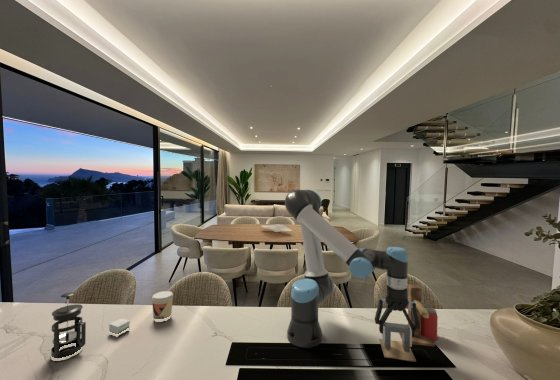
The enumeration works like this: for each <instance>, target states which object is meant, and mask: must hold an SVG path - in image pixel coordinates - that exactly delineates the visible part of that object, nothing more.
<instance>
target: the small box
mask: <svg viewBox="0 0 560 380" xmlns="http://www.w3.org/2000/svg"><path fill="white" fill-rule="evenodd" d="M130 323H131V322H130V320H129V319H125V318H122V317H121V318H119V319H117V320H115V321H113V322H111V323H109V324H108V327H109V328H108V329H109V330H108V332H109V331H110V332H112V333H115V334H119V333H121V332H122V331H124V330H126V329H127V328H129V329H130Z"/></svg>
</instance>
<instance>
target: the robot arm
mask: <svg viewBox="0 0 560 380" xmlns="http://www.w3.org/2000/svg"><path fill="white" fill-rule="evenodd" d="M321 206H322V198H321V196H320V194H319V193H317V192H316V191H315V190H311V189H294V190H292V191H290V192H288V193H287V195H286V196H285V199H284V207H285V209H286V211H287V212H288V213H289V215H290V216H291V217H292V218H293V219H294V220H295V221H297V223H300V229H301V231H300V232H301V237H302V246H303V251H304V259H305V265H306V266H305V267H306V270H305V272H304V273H303V274H304V275H303V276H304V278H302V279H301V278H300V279H298V280H296V281H294V282H293V284H291V285H292V286H291V291H290V295H291V296H290V300H291V309H290V310H291V312H290V313H291V314H290V321H289V325H288V328H287V330H286V338H287V341H288V342H289V343H291V344H292V345H293V346H295V347H297V348H303V349H305V348H306V349H310V348H314V347H317V346H318V345H320V344H321V343H322V342H323V331H322V328H321V326H320V322H319V307H320V306H321V305H323V303H324V302H326V301H327V300H328V299H330V297H331V296H332V295H333V292H334V288H335V287H334V286H335V285H334V281H333V279H332V277H330V275H329V271H328V270H327V269H326V268H325V263H324V257H323V250H322V243H323V244H324V245H325V246H327V247H328V248H329V249H330V250H331V251H332V252H334V254H336V256H338V258H340V260H342V261H343V262H344V263H345V264H346V265H347V266H348V267H349V272H350V273H351V275H352V276H353V277H355V278H356V279H358V280H363V279H366V278H368V277H370V275H371V276H372V274H373V272H374V270H376V269H377V270H384V271H386V297H385V298H382V297H378V298H377V300H378V301H377V302H378V305H377V308H376V312H375V315H374V322H375V324H376V325H378V331H379V333H380V334H381V339H382V341H383V343H385V325H384V323H385V322H387V320H388V318H389V316H390V315H391V313H392V312H393V311H394V312H395V311H397V312H398V311H399V312H402V313H403V315H404V317H405V319H406V321H407V324H408V323H409V325H410V326H409V328H410V348H411V347H413V346H412V345H413V344H412V337H414V336H415V330H416V329H420V325H419V321H418V317H417V313H416V303H415V302H414V301H408V270H409V269H408V267H409V265H408V262H409V260H408V250H406V249H405V248H404V247H399V246H388V247H387V248H386V250H378V249H371V248H365V247H364V248H362V247H361V248H359V247H357V246H356V245H355V244H354V243H352V241H350V239H348V238H347V237H346V236H345V235H343V234H342V232H340V231H339V230H338V229H337V228H335V227H334V226H333V225H332V224H331V223H330V222H328V221H327V220H326V219H325V218H324V217H323V216H322V215H320V208H321ZM321 242H322V243H321ZM385 303H386V304H387V306H386V309H385V310H384V311H382V310H383V308H384V306H383V305H385ZM408 304H409V306H410V307H411V311H412V315H413V319H414V323H415V324H413V323H412V321H411V319H410V318H409V316H408V311H407V310H406V308H407V307H408ZM382 312H383V314H382Z"/></svg>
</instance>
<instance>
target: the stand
mask: <svg viewBox="0 0 560 380" xmlns="http://www.w3.org/2000/svg"><path fill="white" fill-rule="evenodd" d="M407 300H408V301H414V302H415V303H416V313H417V317H418V321H419V325H420V329H416V330H415V336H414V337H412V345H416V346H417V345H419V346H426V347H433V348H435V347H436V343H435V342H434V340H432V339H430V338H427V337H424V336H423V335H421V315H422V316H423V318H429V313H428V312H427V311H426V309H425V308H424V307H425V306H423V304H422V288H421V287H420V285H419V284H411V283H409V284H408V283H407ZM407 314H408V316H409V318H410V319H411V321H412V323H413V324H415V323H414V319H413V315H412V311H411V307H410V306H409V304H408V305H407ZM407 325H408V326H410V325H409V323H408V322H407ZM398 334H399V336H400V339H401V340H402V333H398Z"/></svg>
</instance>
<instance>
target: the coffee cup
mask: <svg viewBox="0 0 560 380" xmlns="http://www.w3.org/2000/svg"><path fill="white" fill-rule="evenodd" d="M173 297H174V293H173V292H172V291H170V290H162V291H158V292H156V293H154V294H153V295H152V297H151V300H152V302H151V303H152V318H154V319H164V318H167V317H169V316H170V315H171V316H172V309H173V299H174V298H173ZM154 319H153V320H154Z"/></svg>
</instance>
